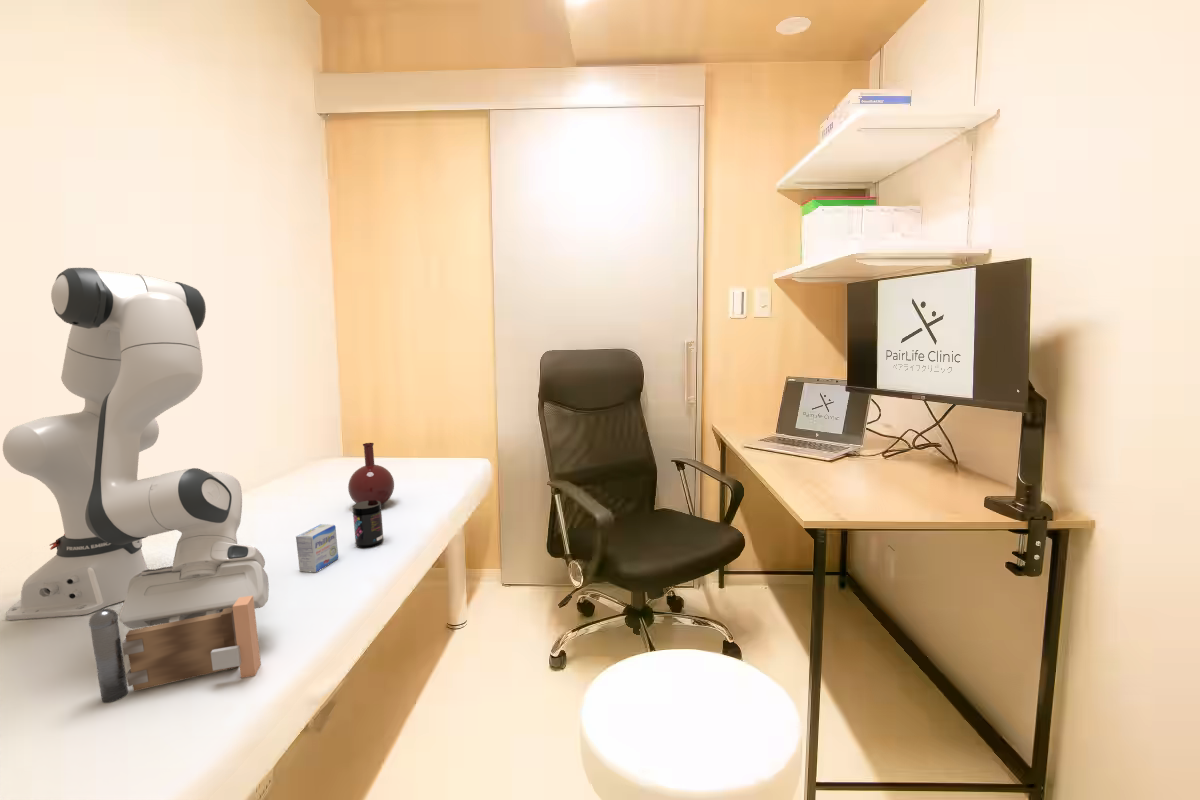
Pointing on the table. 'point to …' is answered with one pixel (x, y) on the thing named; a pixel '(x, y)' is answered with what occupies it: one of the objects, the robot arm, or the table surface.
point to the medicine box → (317, 547)
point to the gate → (177, 649)
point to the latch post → (241, 641)
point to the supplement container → (368, 523)
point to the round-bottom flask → (370, 480)
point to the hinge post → (108, 655)
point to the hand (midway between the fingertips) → (190, 644)
